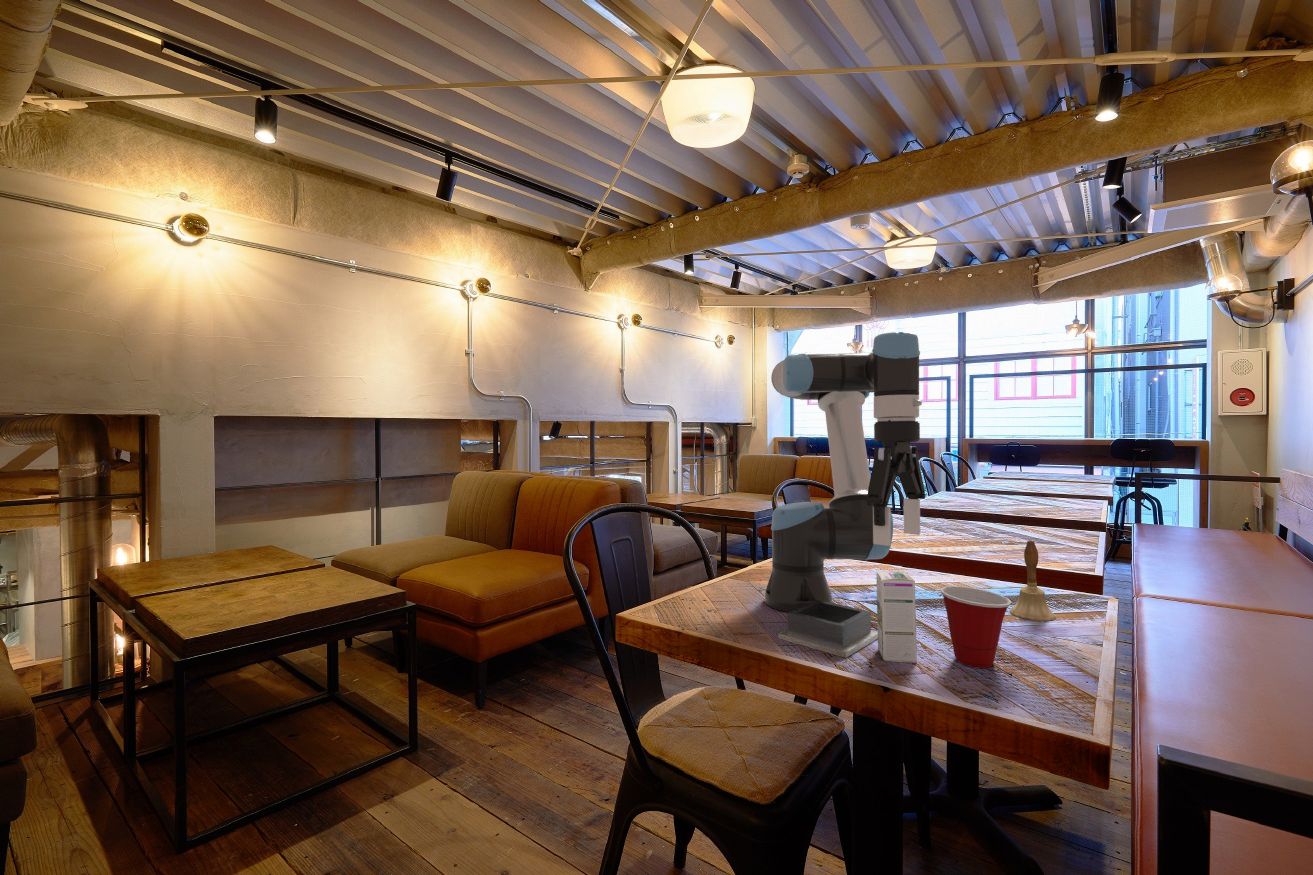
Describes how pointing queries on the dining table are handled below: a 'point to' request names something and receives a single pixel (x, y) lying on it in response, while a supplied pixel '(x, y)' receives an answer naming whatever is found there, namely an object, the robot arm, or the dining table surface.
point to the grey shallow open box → (830, 628)
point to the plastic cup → (974, 623)
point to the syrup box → (896, 617)
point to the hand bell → (1032, 591)
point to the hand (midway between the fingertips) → (897, 539)
